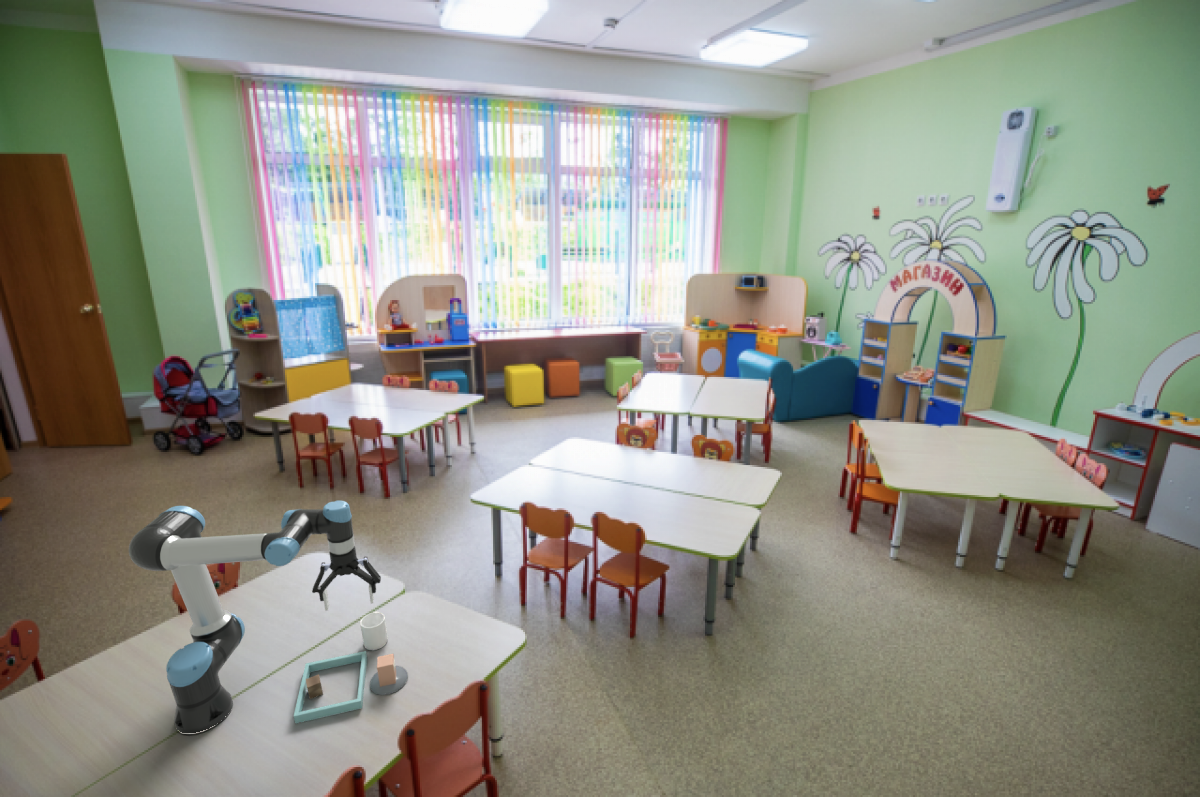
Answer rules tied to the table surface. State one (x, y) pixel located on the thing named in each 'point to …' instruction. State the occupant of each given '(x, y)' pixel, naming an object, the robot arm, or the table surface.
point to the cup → (374, 631)
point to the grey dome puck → (388, 689)
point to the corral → (334, 708)
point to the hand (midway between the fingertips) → (350, 604)
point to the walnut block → (314, 686)
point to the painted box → (386, 670)
